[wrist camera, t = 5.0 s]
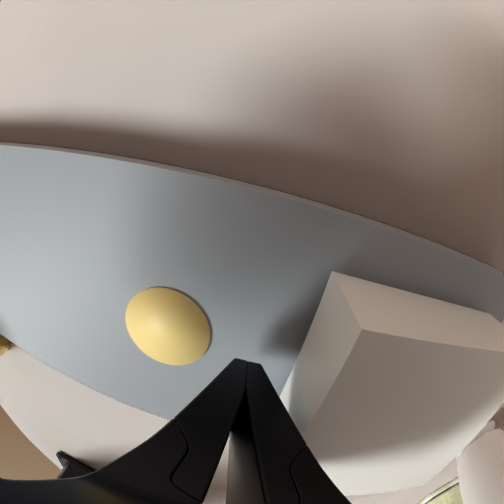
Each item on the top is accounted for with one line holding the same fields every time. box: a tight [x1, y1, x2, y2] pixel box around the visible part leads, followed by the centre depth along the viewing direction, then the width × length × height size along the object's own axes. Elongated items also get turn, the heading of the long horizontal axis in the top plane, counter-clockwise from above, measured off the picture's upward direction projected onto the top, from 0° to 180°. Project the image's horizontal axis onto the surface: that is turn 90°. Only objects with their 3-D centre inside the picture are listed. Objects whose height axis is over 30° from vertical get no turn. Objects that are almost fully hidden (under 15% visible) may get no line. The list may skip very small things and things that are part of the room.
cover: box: [280, 271, 504, 496], centre depth 7 cm, size 7×7×3 cm
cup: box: [456, 420, 504, 504], centre depth 10 cm, size 7×10×8 cm
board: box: [0, 142, 504, 436], centre depth 10 cm, size 10×32×2 cm, turn 76°
